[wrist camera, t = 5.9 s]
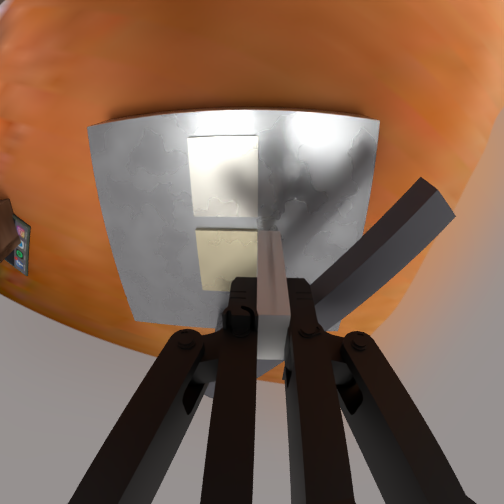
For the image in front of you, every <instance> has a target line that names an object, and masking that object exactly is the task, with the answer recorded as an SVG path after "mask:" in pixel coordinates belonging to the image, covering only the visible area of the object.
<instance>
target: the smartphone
mask: <svg viewBox="0 0 504 504" xmlns="http://www.w3.org/2000/svg"><path fill="white" fill-rule="evenodd" d="M12 216H13V220H14V223H15V226H16V229H17V232H18V235H19V237H20V240H21V243H20V244H19V245H18V246H17V247H16V248H15V249H14V250H13V251H12V252H11V253H10V254H9V255H8V256H7V257H6V258H5V260H6V261H7V262H9V263H10V264H11V265H12V266H14V267H15V268H16V269H18V270H19V271H20V272H22V273H23V274H25V275H26V276H28V258H29V242H30V230H31V226H29V225H28V224H27V223H25V222H24V221H23V220H21V219H20V218H19V217H17V216H16V215H15V214H13V215H12Z"/></svg>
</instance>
